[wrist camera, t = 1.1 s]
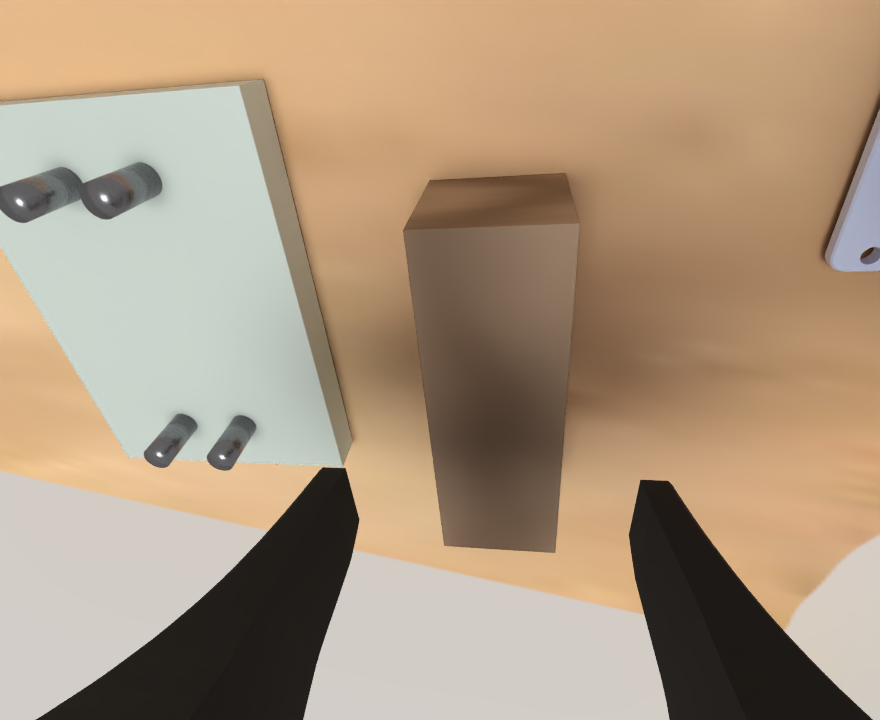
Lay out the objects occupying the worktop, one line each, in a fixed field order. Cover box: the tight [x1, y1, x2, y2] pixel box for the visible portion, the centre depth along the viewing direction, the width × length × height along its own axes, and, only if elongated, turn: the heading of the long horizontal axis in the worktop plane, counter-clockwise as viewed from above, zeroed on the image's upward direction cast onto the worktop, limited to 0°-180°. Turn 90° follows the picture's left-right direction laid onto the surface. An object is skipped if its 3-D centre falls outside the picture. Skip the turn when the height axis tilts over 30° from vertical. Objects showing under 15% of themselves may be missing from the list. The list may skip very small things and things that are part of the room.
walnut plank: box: [403, 173, 580, 553], centre depth 16 cm, size 4×12×4 cm, turn 5°
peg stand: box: [0, 79, 353, 471], centre depth 17 cm, size 10×14×4 cm
